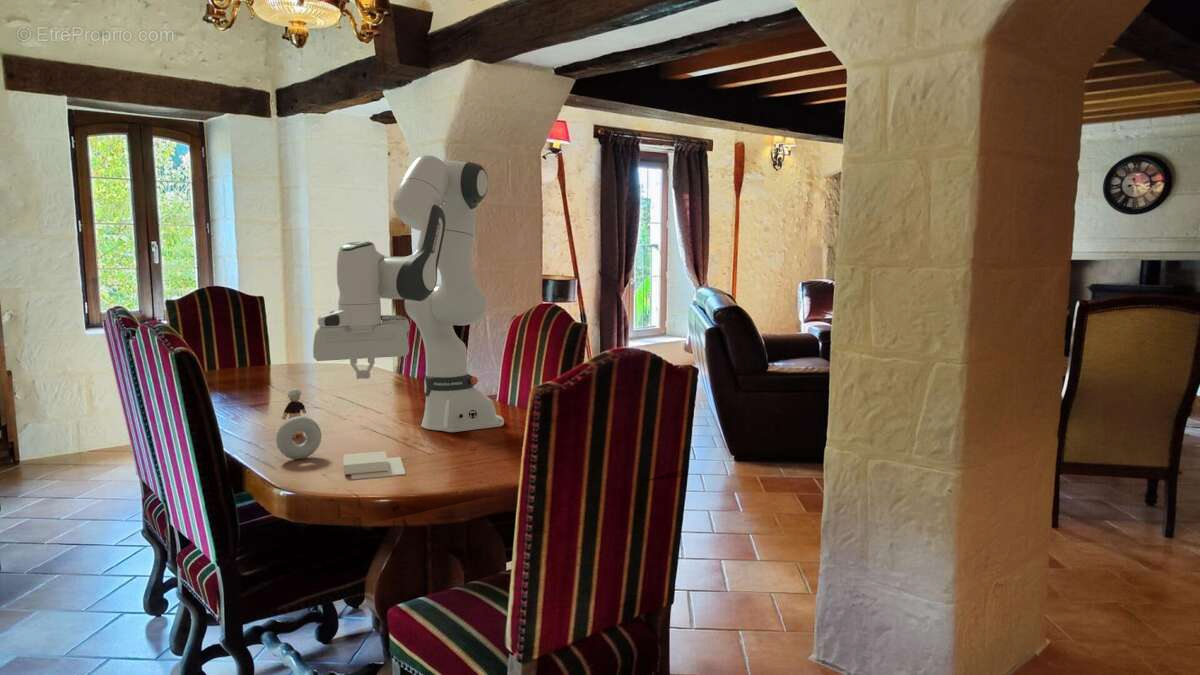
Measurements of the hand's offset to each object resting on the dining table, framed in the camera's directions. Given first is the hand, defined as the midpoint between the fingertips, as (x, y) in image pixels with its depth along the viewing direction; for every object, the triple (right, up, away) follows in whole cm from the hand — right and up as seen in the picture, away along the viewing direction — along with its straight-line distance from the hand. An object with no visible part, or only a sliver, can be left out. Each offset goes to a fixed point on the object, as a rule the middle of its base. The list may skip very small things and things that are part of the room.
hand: (363, 378), depth 167 cm
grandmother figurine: (-27, -17, +29) cm, 43 cm away
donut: (-17, -19, +7) cm, 27 cm away
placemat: (+3, -20, -1) cm, 20 cm away
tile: (-3, -19, -3) cm, 19 cm away
